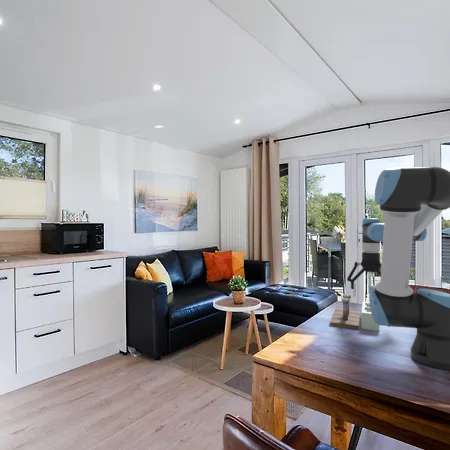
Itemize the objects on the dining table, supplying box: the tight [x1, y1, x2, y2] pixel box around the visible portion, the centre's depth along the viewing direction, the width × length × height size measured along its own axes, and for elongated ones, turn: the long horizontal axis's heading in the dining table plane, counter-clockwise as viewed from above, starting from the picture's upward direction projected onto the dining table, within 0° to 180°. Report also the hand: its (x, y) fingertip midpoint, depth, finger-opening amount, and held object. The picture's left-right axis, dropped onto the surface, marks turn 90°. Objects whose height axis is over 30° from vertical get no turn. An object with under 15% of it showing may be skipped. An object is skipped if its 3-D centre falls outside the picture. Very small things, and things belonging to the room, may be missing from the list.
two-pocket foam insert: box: [360, 301, 380, 332], centre depth 148 cm, size 21×7×7 cm, turn 155°
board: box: [329, 293, 362, 330], centre depth 153 cm, size 25×12×11 cm, turn 155°
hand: (370, 297), depth 148 cm, fingers open, 13 cm apart
